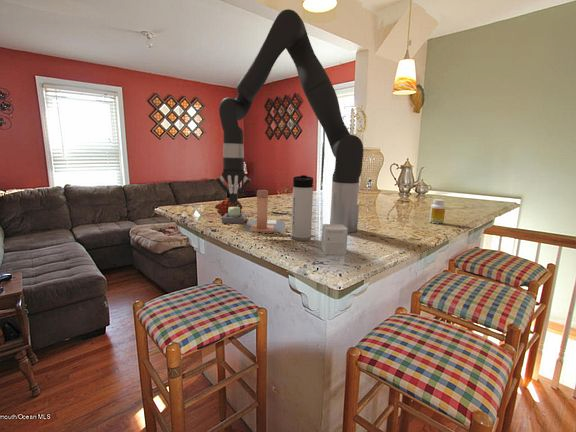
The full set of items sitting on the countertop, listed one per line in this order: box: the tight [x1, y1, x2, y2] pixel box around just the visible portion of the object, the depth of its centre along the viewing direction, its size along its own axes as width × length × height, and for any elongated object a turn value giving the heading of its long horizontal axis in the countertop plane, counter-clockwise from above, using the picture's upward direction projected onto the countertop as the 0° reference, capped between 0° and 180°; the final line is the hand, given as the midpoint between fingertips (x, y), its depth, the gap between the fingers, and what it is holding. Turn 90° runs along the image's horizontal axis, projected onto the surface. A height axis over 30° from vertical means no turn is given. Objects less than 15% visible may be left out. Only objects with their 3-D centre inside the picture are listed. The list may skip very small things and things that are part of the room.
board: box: [243, 219, 286, 233], centre depth 111 cm, size 14×18×1 cm
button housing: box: [221, 213, 247, 224], centre depth 117 cm, size 8×8×3 cm
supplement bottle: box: [428, 198, 446, 224], centre depth 126 cm, size 5×5×10 cm
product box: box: [320, 223, 349, 256], centre depth 86 cm, size 6×6×7 cm
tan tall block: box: [256, 189, 269, 229], centre depth 106 cm, size 4×4×13 cm
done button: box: [228, 207, 241, 217], centre depth 117 cm, size 4×4×4 cm
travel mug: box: [291, 174, 314, 242], centre depth 97 cm, size 6×7×20 cm
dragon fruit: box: [214, 197, 243, 215], centre depth 130 cm, size 8×8×12 cm
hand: (233, 203), depth 116 cm, fingers closed
